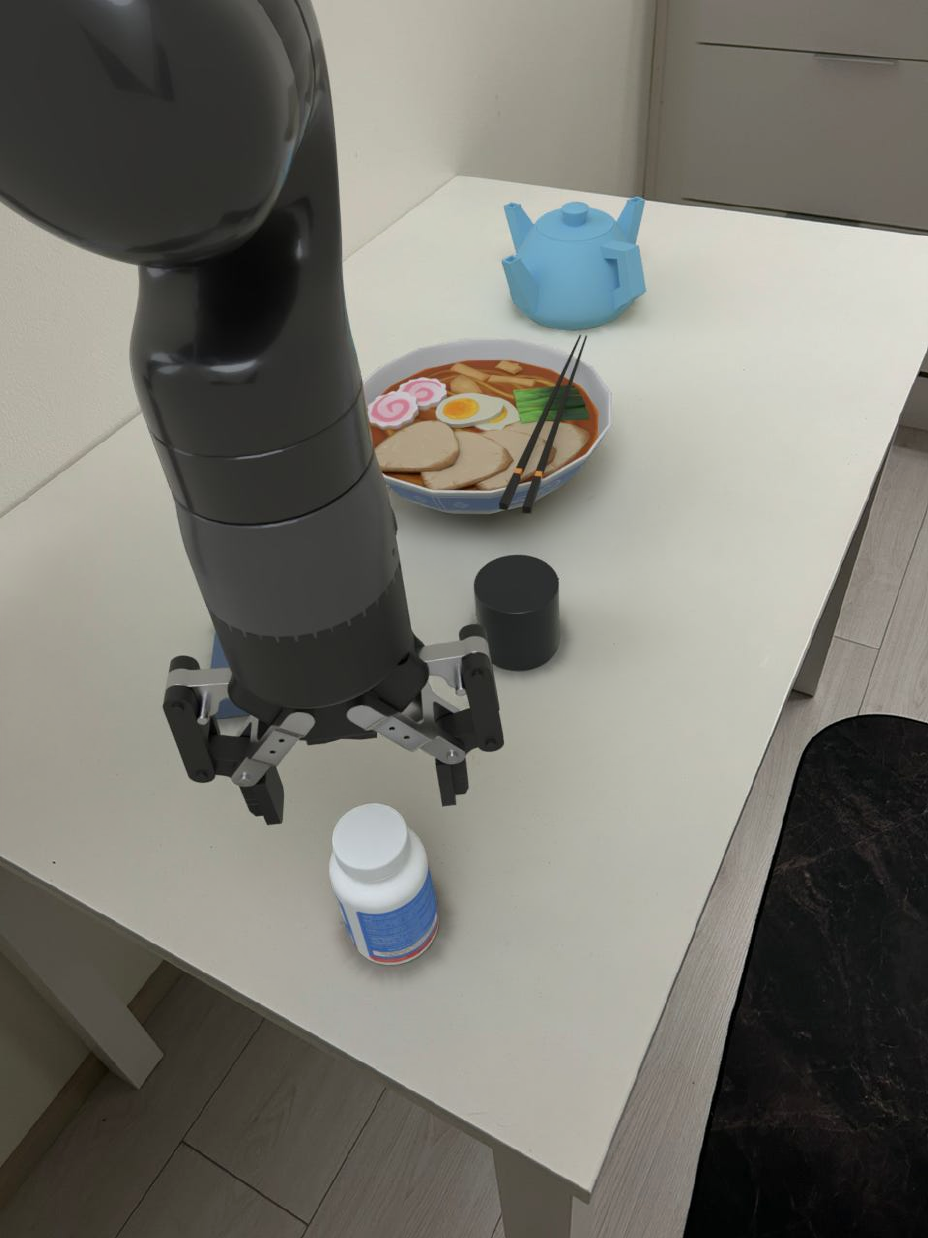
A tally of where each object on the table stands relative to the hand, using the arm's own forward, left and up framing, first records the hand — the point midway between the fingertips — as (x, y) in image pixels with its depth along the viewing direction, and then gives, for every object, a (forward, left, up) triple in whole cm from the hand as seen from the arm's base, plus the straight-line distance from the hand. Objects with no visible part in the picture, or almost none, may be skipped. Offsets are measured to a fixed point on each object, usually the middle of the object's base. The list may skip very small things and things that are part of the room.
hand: (363, 800), depth 48 cm
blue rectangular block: (-17, +16, -13) cm, 27 cm away
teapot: (-6, +74, -13) cm, 76 cm away
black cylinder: (+1, +24, -13) cm, 27 cm away
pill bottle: (0, 0, -13) cm, 13 cm away
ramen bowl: (-7, +42, -13) cm, 45 cm away
